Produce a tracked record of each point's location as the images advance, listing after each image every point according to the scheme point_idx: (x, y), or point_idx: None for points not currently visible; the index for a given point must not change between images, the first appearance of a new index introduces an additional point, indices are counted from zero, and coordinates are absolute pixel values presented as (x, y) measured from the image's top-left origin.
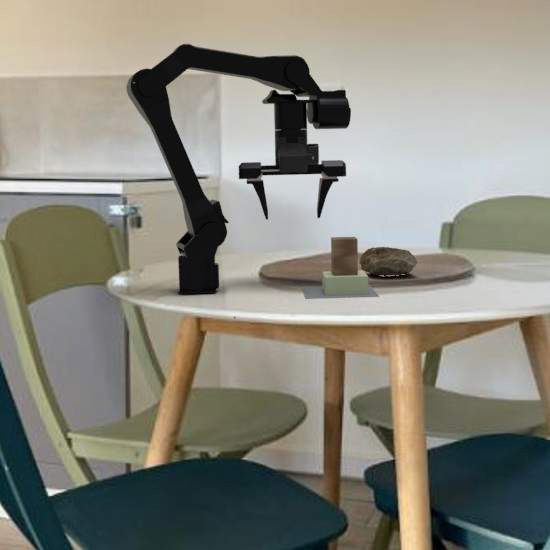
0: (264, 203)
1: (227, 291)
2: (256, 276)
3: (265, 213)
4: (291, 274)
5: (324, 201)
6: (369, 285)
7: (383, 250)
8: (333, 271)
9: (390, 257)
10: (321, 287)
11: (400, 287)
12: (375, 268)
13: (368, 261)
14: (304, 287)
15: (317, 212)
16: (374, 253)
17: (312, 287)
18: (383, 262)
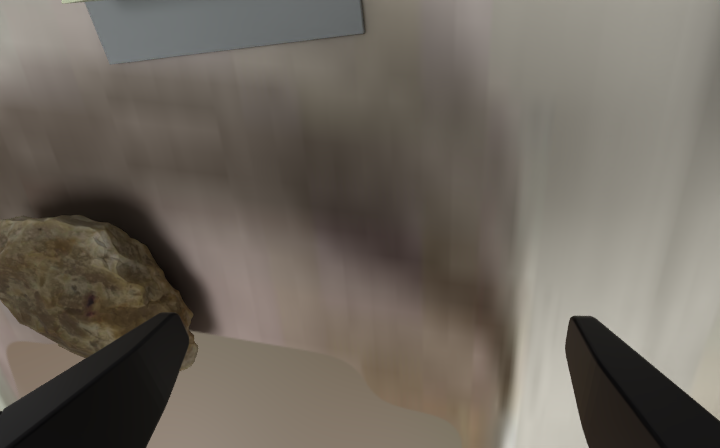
0: (680, 431)
1: (712, 3)
2: (525, 347)
3: (615, 347)
4: (412, 360)
5: (23, 399)
6: (110, 62)
7: (68, 310)
8: None
9: (24, 224)
10: (278, 20)
11: (19, 65)
12: (111, 225)
13: (134, 275)
14: (348, 27)
15: (160, 351)
16: (102, 300)
17: (315, 25)
18: (61, 216)
